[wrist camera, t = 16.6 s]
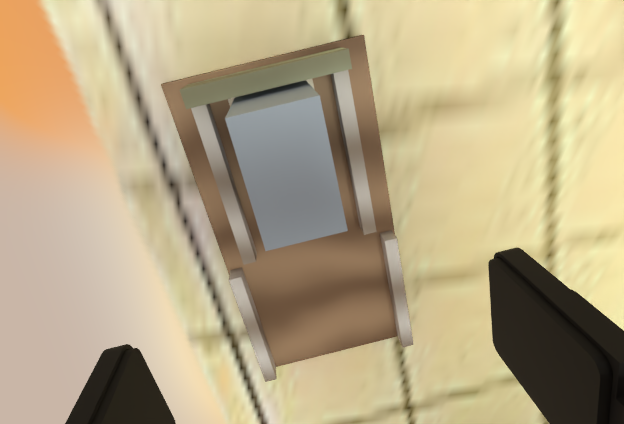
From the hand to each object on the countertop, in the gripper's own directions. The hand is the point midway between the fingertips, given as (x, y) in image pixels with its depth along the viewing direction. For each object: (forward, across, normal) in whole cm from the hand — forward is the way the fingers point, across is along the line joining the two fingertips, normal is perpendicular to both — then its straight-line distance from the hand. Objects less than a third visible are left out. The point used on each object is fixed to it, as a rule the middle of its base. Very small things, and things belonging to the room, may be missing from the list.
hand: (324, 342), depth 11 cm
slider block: (+21, 0, 0) cm, 21 cm away
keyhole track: (+22, 0, +7) cm, 23 cm away
